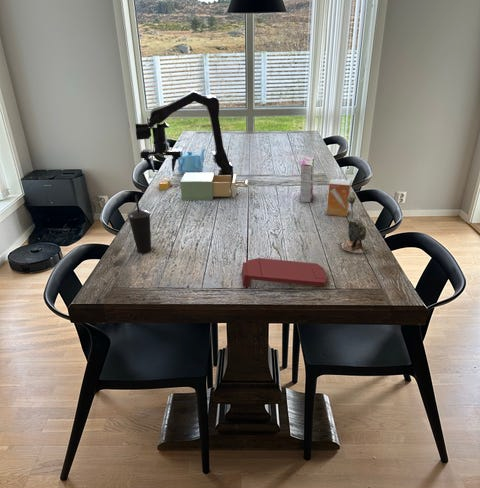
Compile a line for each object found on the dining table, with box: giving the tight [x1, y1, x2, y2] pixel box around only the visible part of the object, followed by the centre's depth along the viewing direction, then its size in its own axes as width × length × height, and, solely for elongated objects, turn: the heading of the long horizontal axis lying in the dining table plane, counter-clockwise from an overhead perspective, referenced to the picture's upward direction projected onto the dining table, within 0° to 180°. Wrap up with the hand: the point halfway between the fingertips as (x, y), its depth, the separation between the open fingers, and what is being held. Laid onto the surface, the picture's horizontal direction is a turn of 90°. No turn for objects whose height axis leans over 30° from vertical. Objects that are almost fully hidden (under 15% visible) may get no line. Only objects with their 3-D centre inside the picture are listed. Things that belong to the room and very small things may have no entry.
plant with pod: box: [339, 191, 367, 255], centre depth 149 cm, size 8×11×20 cm
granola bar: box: [158, 177, 172, 191], centre depth 217 cm, size 4×8×3 cm, turn 177°
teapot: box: [176, 148, 206, 174], centre depth 238 cm, size 15×15×10 cm
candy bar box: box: [299, 157, 315, 203], centre depth 195 cm, size 11×5×16 cm, turn 168°
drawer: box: [212, 173, 249, 198], centre depth 204 cm, size 18×12×7 cm, turn 87°
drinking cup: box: [126, 194, 152, 254], centre depth 153 cm, size 8×8×20 cm
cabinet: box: [179, 171, 216, 201], centre depth 205 cm, size 14×13×8 cm
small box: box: [326, 178, 353, 217], centre depth 180 cm, size 8×6×13 cm
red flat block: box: [240, 257, 328, 288], centre depth 138 cm, size 12×5×25 cm
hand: (163, 171), depth 214 cm, fingers open, 9 cm apart
